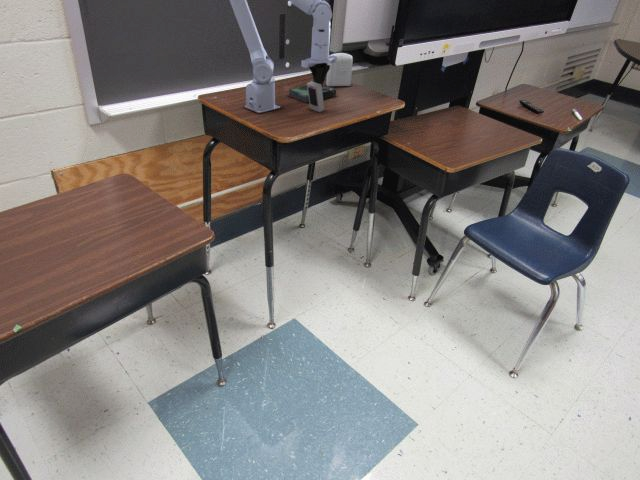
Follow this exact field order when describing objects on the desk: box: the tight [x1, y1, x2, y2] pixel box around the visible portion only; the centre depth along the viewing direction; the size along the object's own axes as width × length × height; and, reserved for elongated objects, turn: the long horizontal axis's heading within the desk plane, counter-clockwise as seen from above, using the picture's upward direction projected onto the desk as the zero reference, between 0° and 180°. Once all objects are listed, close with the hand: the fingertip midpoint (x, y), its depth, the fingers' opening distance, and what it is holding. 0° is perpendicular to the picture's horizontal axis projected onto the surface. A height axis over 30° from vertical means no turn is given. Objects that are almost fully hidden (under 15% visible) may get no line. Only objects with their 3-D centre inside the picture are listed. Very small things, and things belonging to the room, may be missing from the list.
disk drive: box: [288, 85, 337, 103], centre depth 167 cm, size 10×3×15 cm
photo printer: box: [325, 52, 354, 87], centre depth 179 cm, size 10×4×12 cm, turn 109°
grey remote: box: [306, 81, 325, 113], centre depth 152 cm, size 2×5×9 cm, turn 45°
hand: (318, 87), depth 151 cm, fingers closed
